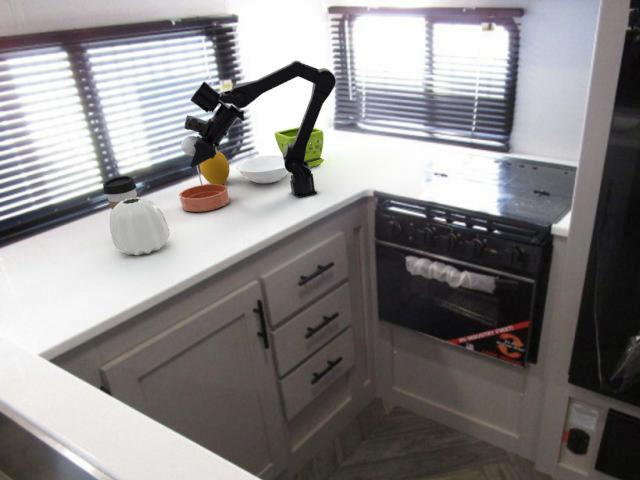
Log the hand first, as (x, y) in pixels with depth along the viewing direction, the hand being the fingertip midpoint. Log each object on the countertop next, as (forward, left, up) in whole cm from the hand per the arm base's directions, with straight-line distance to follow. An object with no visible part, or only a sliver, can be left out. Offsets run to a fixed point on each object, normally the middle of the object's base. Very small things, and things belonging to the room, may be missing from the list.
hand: (191, 164), depth 172 cm
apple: (-11, -20, -13) cm, 27 cm away
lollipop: (-1, 0, -7) cm, 7 cm away
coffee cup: (+21, +9, -13) cm, 27 cm away
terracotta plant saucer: (-2, 0, -13) cm, 13 cm away
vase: (+20, +25, -13) cm, 35 cm away
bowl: (-26, -11, -13) cm, 31 cm away
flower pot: (-43, -21, -13) cm, 49 cm away
